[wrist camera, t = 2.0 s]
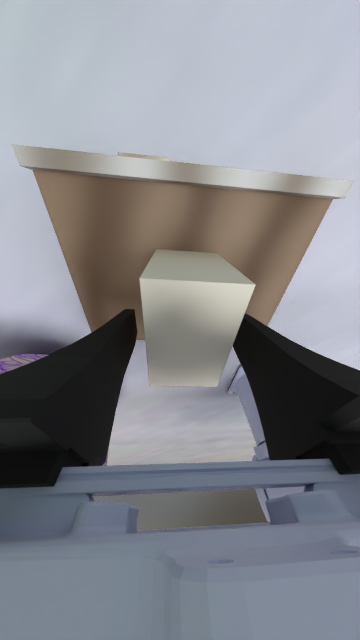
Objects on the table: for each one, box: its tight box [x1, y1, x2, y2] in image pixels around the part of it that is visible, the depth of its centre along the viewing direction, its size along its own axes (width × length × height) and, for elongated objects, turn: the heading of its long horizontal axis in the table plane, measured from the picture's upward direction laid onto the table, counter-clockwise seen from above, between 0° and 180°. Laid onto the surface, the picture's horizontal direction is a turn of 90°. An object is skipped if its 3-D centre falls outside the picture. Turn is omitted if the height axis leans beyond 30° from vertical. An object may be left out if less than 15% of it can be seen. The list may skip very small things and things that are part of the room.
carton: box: [139, 249, 256, 387], centre depth 11 cm, size 8×5×7 cm, turn 176°
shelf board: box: [12, 144, 354, 340], centre depth 14 cm, size 20×15×2 cm
